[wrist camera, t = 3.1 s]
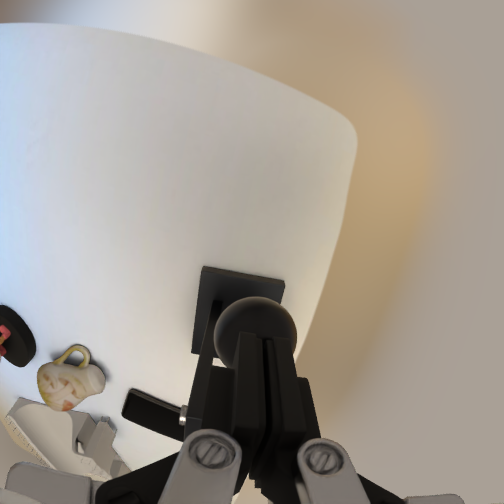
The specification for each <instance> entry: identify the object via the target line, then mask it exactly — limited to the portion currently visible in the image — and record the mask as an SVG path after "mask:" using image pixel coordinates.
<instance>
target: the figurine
mask: <svg viewBox="0 0 504 504" xmlns="http://www.w3.org/2000/svg"><path fill="white" fill-rule="evenodd" d="M35 352H36V345H35V341H34V338H33V335H32V333H31V331H30V330H29V328H28V327H27V325H26V324H25V323H24V321H23V320H22V319H21V318H20V317H19V316H18V315H17V314H16V313H15V312H14V311H13V310H12V309H10V308H9V307H7V306H4V305H0V361H1V356H3V357H4V358H5V359H6V360H8V361H9V362H10V363H12V364H13V365H15V366H17V367H25V366H26V365H27V364H28V363H29V362H30V361H31V359H32V358H33V357H34V355H35Z"/></svg>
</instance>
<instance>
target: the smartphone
mask: <svg viewBox="0 0 504 504" xmlns="http://www.w3.org/2000/svg"><path fill="white" fill-rule="evenodd" d="M180 411H181V410H180V409H178V408H175V407H173V406H170V405H168V404H165V403H163V402H161V401H158V400H156V399H154V398H151V397H149V396H147V395H145V394H142V393H140V392H138V391H136V390H130V391H129V392H128V394H127V397H126V400H125V403H124V406H123V409H122V413H121V414H122V416H123V417H124V418H125V419H127V420H129V421H131V422H134V423H136V424H138V425H140V426H143V427H145V428H147V429H150V430H152V431H155V432H157V433H160V434H162V435H165V436H168V437H170V438H173V439H176V440H178V441H181V442H184V430H185V425H182V424H179V417H180Z"/></svg>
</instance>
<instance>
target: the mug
mask: <svg viewBox="0 0 504 504" xmlns="http://www.w3.org/2000/svg"><path fill="white" fill-rule="evenodd" d="M75 350H77V351H80V352H82V354H83V356H84V360H83V362H82V363H81V364H80V365H79V366H73V365H69V364H66V363H64V361H65V360H66V359H67V357H68V356H69V355H70V354H71V353H72V352H73V351H75ZM89 361H90V353H89V351H88V350H87V349H86V348H85V347H83V346H79V345H75V346H72V347H70V348H69V349H68V350H67V351H66V352H65V353H64V354H63V355H62V356H61V357H60V358H58V359H56V360H54V361H53V362H49V363H46V364H44V365H42V366H41V367H40V368H39V370H38V372H37V384H38V388H39V392H40V394H41V397H42V399H43V400H44V402H45V403H46V404H47V405H48V406H49V407H50V408H51V409H52V410H54V411H57V412H58V411H60V412H65V411H69V410H71V409H73V408H74V407H76V406H77V405H78V404H79V403H80V402H82V401H83V400H84V399H85V398H87V397H88V396H91V395H95V394H100V393H102V392H103V390H104V388H105V377H104V375H103V373H102V371H101V370H100V369H99V368H98V367H96V366H95V365H90V364H89Z"/></svg>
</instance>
